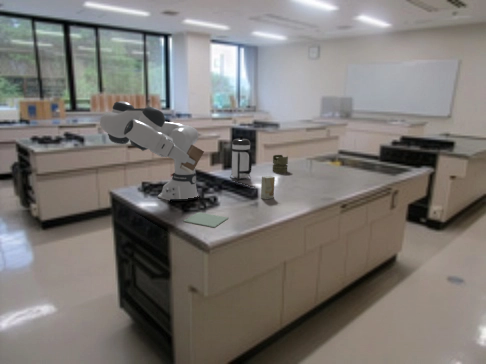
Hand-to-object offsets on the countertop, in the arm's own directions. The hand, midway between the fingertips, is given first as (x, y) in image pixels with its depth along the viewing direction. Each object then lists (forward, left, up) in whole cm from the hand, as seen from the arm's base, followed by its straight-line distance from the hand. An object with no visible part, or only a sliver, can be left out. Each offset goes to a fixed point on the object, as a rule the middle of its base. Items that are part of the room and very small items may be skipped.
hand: (192, 161), depth 146 cm
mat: (+3, +5, -28) cm, 28 cm away
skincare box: (+15, +52, -28) cm, 61 cm away
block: (+1, +2, +6) cm, 6 cm away
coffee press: (-17, +87, -28) cm, 93 cm away
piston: (-2, +124, -28) cm, 127 cm away
